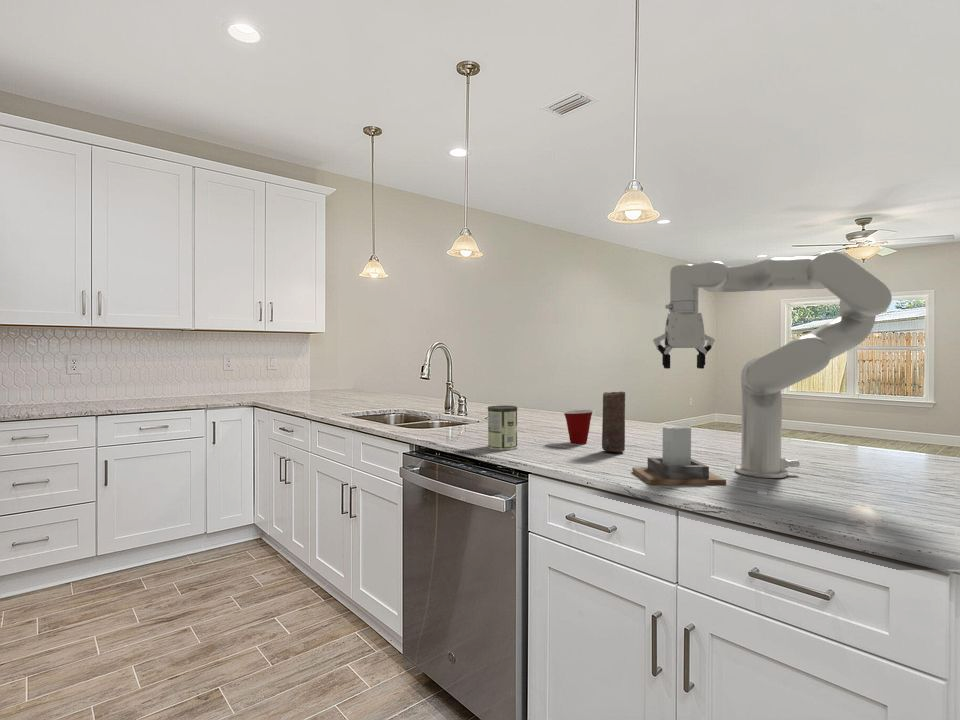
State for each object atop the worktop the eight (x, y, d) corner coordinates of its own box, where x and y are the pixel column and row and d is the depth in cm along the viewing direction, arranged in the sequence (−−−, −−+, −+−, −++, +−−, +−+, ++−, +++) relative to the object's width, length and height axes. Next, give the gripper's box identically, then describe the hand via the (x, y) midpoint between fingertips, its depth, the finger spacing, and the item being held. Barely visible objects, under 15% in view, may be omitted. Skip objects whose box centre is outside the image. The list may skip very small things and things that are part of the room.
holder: (700, 471, 142) (701, 456, 142) (726, 484, 128) (726, 467, 128) (632, 471, 141) (632, 456, 141) (650, 484, 127) (650, 467, 127)
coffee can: (497, 444, 185) (497, 404, 185) (522, 446, 179) (522, 406, 179) (481, 448, 176) (481, 407, 176) (508, 451, 171) (508, 409, 171)
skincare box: (679, 470, 138) (679, 425, 138) (691, 474, 134) (692, 427, 134) (661, 472, 136) (661, 426, 135) (673, 476, 131) (673, 428, 131)
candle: (625, 455, 165) (626, 392, 165) (602, 454, 166) (602, 392, 166) (624, 450, 173) (624, 391, 172) (601, 449, 174) (601, 390, 174)
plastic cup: (570, 439, 195) (570, 407, 195) (597, 442, 189) (597, 409, 188) (557, 443, 186) (557, 410, 186) (585, 446, 180) (585, 412, 180)
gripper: (658, 307, 143) (658, 368, 143) (720, 307, 144) (719, 368, 144) (649, 309, 151) (649, 368, 151) (708, 309, 151) (707, 368, 151)
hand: (683, 368), depth 147 cm, fingers open, 9 cm apart
